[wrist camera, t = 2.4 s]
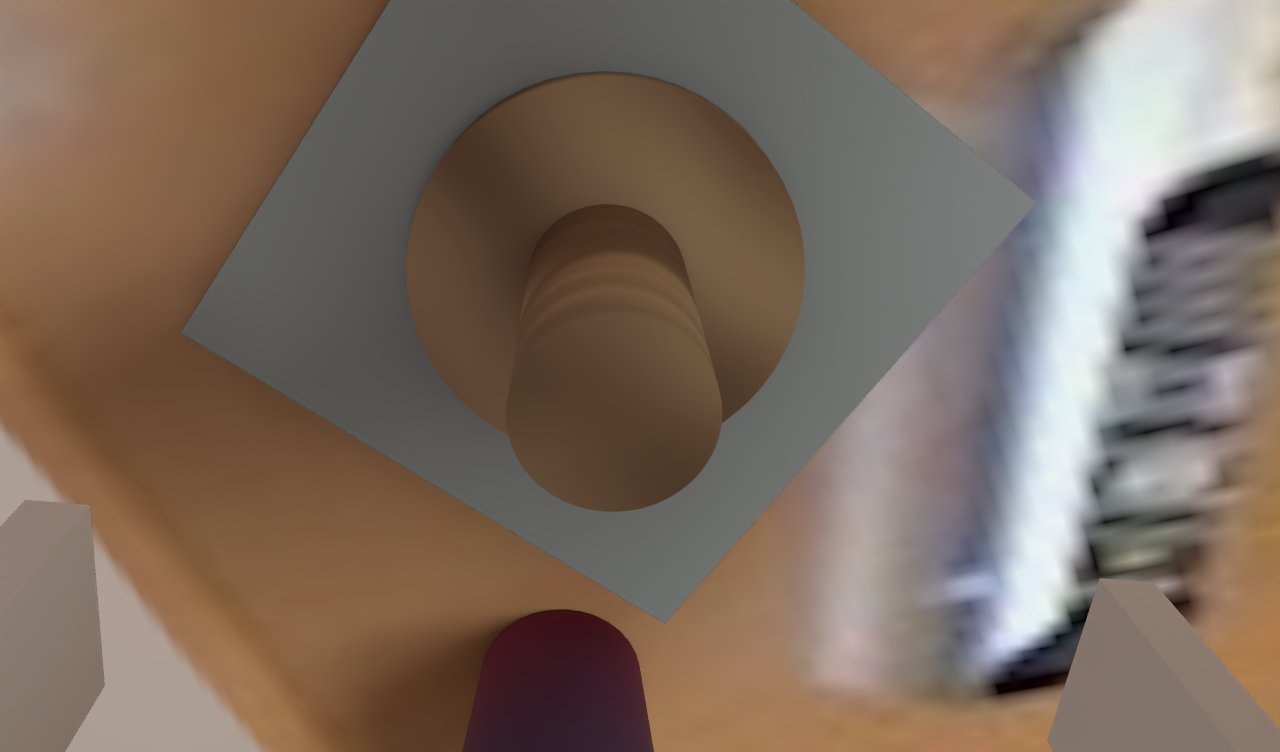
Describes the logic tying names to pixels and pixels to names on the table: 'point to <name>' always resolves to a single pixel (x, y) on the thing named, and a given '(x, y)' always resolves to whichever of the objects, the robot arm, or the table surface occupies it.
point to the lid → (606, 280)
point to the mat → (617, 42)
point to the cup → (560, 689)
